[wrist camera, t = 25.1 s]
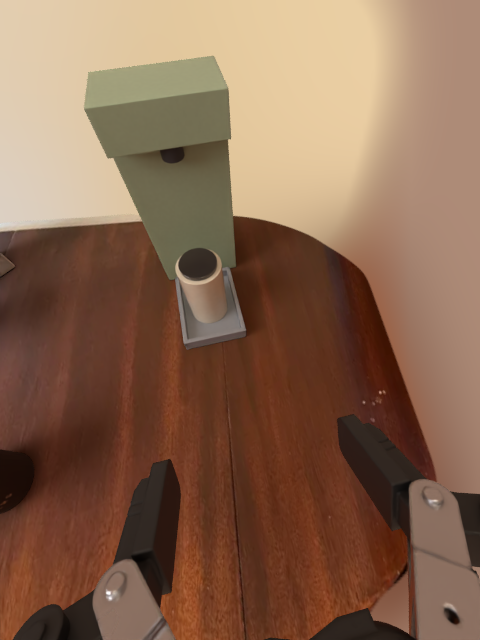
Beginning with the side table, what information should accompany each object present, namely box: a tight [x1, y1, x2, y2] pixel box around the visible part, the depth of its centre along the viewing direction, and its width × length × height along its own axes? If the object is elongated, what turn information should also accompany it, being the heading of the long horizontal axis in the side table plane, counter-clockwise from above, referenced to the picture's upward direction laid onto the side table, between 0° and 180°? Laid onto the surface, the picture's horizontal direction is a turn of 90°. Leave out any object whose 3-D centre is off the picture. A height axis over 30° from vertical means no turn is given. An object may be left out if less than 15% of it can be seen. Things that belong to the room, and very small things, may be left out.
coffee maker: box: [84, 56, 246, 349], centre depth 32 cm, size 12×21×26 cm, turn 13°
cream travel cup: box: [175, 248, 228, 323], centre depth 36 cm, size 6×6×11 cm
